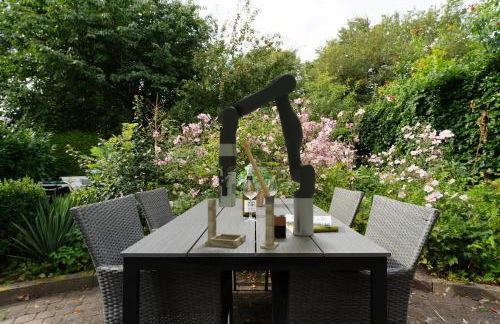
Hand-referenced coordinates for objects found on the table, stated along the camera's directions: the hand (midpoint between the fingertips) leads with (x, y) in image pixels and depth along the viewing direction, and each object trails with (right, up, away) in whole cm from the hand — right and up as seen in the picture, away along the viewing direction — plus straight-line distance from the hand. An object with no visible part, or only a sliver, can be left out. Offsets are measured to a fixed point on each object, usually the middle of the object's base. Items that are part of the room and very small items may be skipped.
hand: (227, 195), depth 132 cm
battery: (+22, -20, +10) cm, 32 cm away
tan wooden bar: (+12, +10, -4) cm, 16 cm away
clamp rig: (+6, -20, -3) cm, 21 cm away
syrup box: (0, -5, 0) cm, 5 cm away
